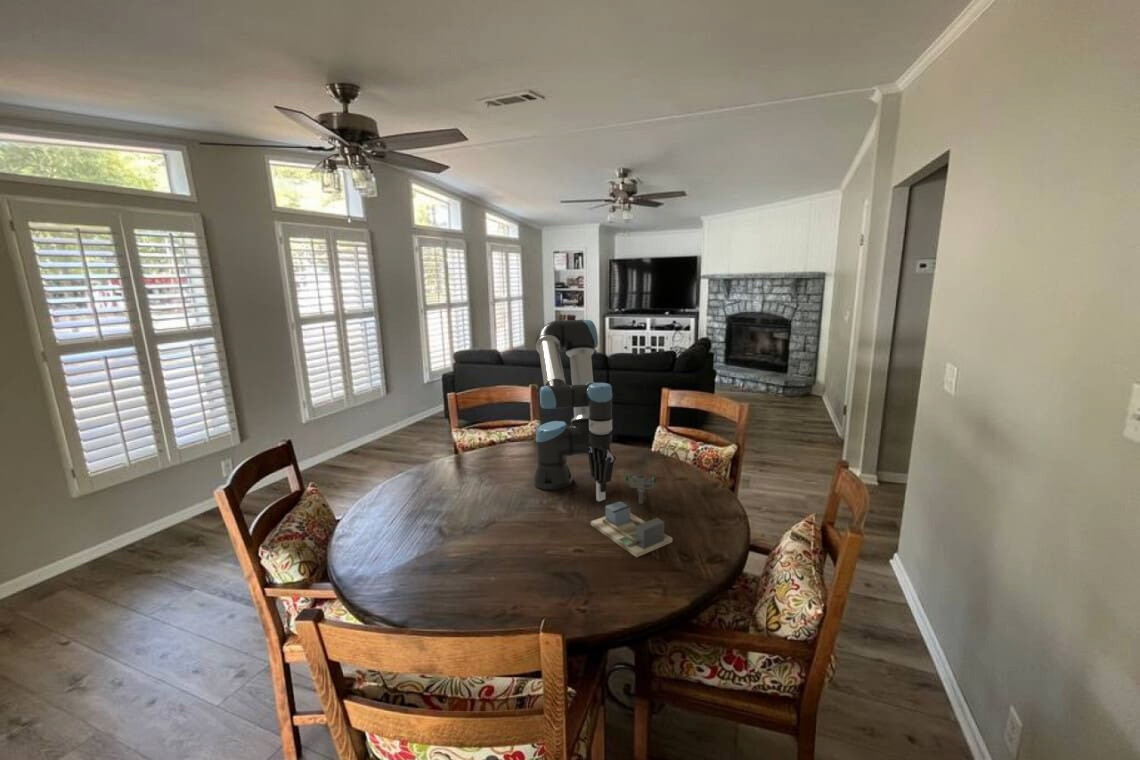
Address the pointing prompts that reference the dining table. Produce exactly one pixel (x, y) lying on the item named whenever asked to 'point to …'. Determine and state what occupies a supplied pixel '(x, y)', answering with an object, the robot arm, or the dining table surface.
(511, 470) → the dining table surface
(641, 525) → the dark grey textured box
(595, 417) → the robot arm
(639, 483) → the mechanical component
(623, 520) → the carriage
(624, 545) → the board
